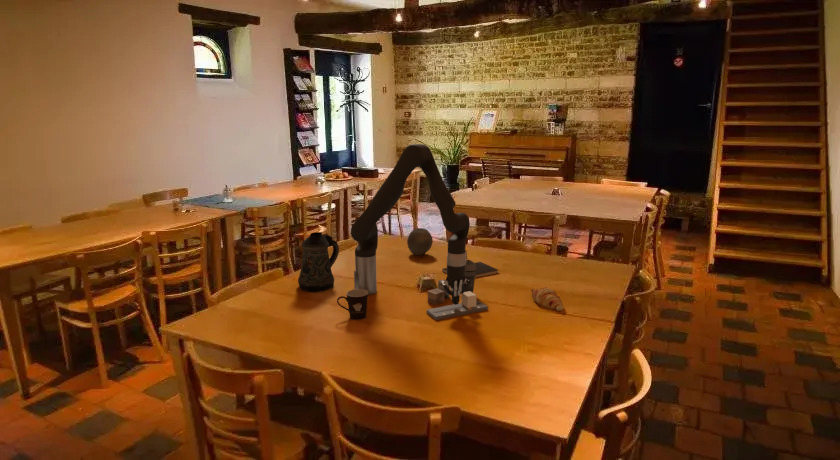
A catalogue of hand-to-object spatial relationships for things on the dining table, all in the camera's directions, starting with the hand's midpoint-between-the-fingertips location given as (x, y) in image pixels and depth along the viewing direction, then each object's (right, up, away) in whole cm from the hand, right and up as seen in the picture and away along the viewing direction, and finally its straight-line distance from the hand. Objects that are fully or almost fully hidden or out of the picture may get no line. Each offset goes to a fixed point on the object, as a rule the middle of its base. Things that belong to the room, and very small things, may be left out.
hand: (455, 303), depth 213 cm
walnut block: (-8, -1, +11) cm, 13 cm away
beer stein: (-62, +4, +32) cm, 69 cm away
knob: (+6, -1, +3) cm, 6 cm away
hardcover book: (+11, +8, +50) cm, 52 cm away
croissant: (+39, -2, +9) cm, 40 cm away
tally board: (+1, -3, +1) cm, 3 cm away
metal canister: (-4, +1, +17) cm, 17 cm away
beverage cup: (+7, +1, +20) cm, 21 cm away
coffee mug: (-40, -5, -4) cm, 41 cm away
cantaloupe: (-14, +16, +79) cm, 82 cm away
